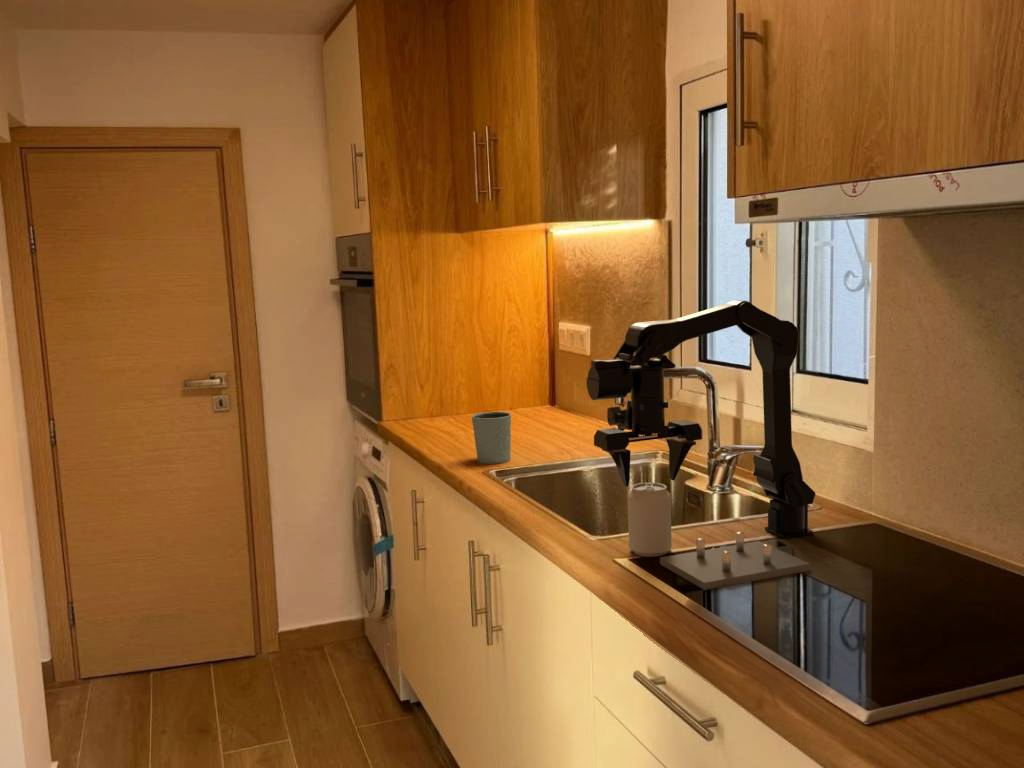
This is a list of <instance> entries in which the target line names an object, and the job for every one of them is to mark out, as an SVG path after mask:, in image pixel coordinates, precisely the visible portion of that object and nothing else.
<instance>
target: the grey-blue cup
mask: <svg viewBox="0 0 1024 768" xmlns="http://www.w3.org/2000/svg"><path fill="white" fill-rule="evenodd" d="M471 423H472V427H473V429H472V430H473V435H474V436H473V437H474V443H475V444H474V445H475V450H476V457H477V458H476V459H477V462H478V463H480V464H485V465H496V464H498V463H499V464H504V462H505V463H508V462H509V461H511V459H512V458H511V455H512V454H511V453H512V451H511V449H512V447H511V443H512V442H511V441H512V438H511V437H512V434H511V433H512V431H511V425H512V413H511V412H508V411H507V412H506V411H487V412H486V411H485V412H479V413H476V414H472V415H471Z"/></svg>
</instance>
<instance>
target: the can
mask: <svg viewBox="0 0 1024 768" xmlns="http://www.w3.org/2000/svg"><path fill="white" fill-rule="evenodd" d="M630 487H631V491H630V492H629V493H628V494H627V513H628V514H627V517H628V522H627V525H628V547H629V549H630V550H631V551H632V552H633V553H634V555H638V556H641V557H648V558H650V557H654V558H655V557H659V556H664V555H666V554H667V553H668V552H669V551H670V550H671V549H672V546H673V544H672V543H673V542H672V501H671V500H672V498H671V497H672V495H671V493H670V492H669V491H668V490H667V488H668V486H667V485H665V484H664V483H660V482H659V483H658V482H640V483H639V482H638V483H634V484H633V485H631V486H630Z"/></svg>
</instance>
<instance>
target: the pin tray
mask: <svg viewBox="0 0 1024 768" xmlns="http://www.w3.org/2000/svg"><path fill="white" fill-rule="evenodd" d="M695 542H696V543H695V544H696V545H695V547H696V549H695V551H690V552H685V553H679V554H674V555H672V554H671V555H668V556H662V557H659V565H660V566H662V567H664V568H666V569H667V570H669V571H671V572H672V573H674V574H675V575H677V576H680V577H681V578H683V579H684V580H686V581H688V582H690V583H691V584H693V585H695V586H696V587H699V588H700V589H702V590H704V591H706V590H713V589H718V588H722V587H723V588H724V587H729V586H733V585H734V586H735V585H739V584H744V583H750V582H754V581H761V580H766V579H773V578H776V577H783V576H788V575H794V574H798V573H799V574H800V573H804V572H810V568H811V567H810V566H811V565H810V563H809V562H807V561H805V560H802V559H800V558H799V557H795V556H794V555H791V554H790V553H787V552H786V551H784V550H783V551H782V550H780V549H779V548H776V547H774V546H772V544H771V543H765V542H762V541H760V540H758V541H757V540H756V541H752V542H745V532H744V531H735V544H732V545H725V546H722V547H721V546H720V547H715V548H709V549H706V548H705V547H706V546H705V545H706V539H705V538H703V537H697V538H696V541H695Z"/></svg>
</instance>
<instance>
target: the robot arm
mask: <svg viewBox="0 0 1024 768" xmlns="http://www.w3.org/2000/svg"><path fill="white" fill-rule="evenodd" d="M735 326H737V328H738V329H739V330H740V331H741V332H742V333H743V334H745V335H747V336H748V337H750V338H751V341H752V346H753V351H754V354H755V356H756V359H757V361H758V363H759V365H760V367H761V371H762V372H761V373H762V396H763V397H762V400H763V401H762V402H763V428H764V430H763V431H764V446H763V449H762V450H761V452H760V454H754V455H753V458H752V460H753V464H754V470H753V473H752V476H754V477H755V478H756V482H757V484H758V485H759V486H760V487H761V488H762V490H763V492H764V494H765V496H766V497H769V498H771V499H769V508H768V509H767V526H764V531H767V532H768V533H771V534H774V535H776V536H778V537H780V538H783V539H788V538H789V539H791V538H796V537H801V536H808V535H813V534H814V530H812V529H810V528H809V505H812V504H813V503H814V499H815V497H816V492H815V490H813V489H812V487H811V486H810V485H808V484H807V483H806V482H805V481H804V478H803V472H802V468H801V467H802V466H801V462H800V460H799V457H798V455H797V454H796V451H795V450H794V447H793V436H792V435H793V434H792V433H793V432H792V428H793V427H792V398H791V397H792V396H791V395H792V394H791V393H792V392H791V391H792V390H791V367H792V364H793V363H794V362H795V361H794V360H795V359H796V357H797V355H798V351H799V349H798V348H799V343H800V332H799V328H798V327H797V326H796V325H795V324H794V323H793V322H792V321H789V320H785V319H784V320H783V319H780V318H778V317H776V316H774V315H772V314H771V313H768V312H766V311H764V310H762V309H761V308H758V307H757V306H756V305H754V304H753V303H752V302H750V301H748V300H739V299H738V300H737V299H734V300H731V301H729V302H727V303H725V304H720V305H718V306H714V307H712V308H707V309H705V310H701V311H698V312H697V311H696V312H695V313H691V314H687V315H685V316H682V317H677V318H674V319H665V320H650V321H641V322H635V323H633V324H631V325H630V326H629V327H628V329H627V331H626V333H625V337H624V341H623V342H622V344H621V346H620V347H619V349H618V351H617V352H616V353H615V356H614V357H613V358H612V359H607V360H606V359H605V360H604V359H603V360H601V359H592V360H591V361H590V366H591V367H590V368H589V370H588V372H587V373H588V374H587V377H586V388H587V389H586V390H587V392H588V396H589V398H590V399H591V400H592V401H601V400H602V401H603V400H611V399H612V400H613V399H622V398H623V399H624V398H626V397H627V396H628V394H630V399H628V400H627V403H626V408H625V409H621V407H620V406H619V405H618V406H617V405H616V406H611V407H610V406H609V407H608V408H607V411H606V412H607V414H606V418H607V423H608V424H607V425H608V426H610V428H603V429H597V430H596V432H595V433H594V435H593V445H594V446H595V447H596V448H599V449H601V450H602V451H603V452H606V453H608V454H609V455H610V457H611V459H612V460H613V462H614V464H615V465H616V468H617V471H618V475H619V477H620V480H621V482H622V485H623V486H624V487H625V488H628V487H629V485H630V478H631V477H630V476H631V475H630V474H631V450H629V449H627V448H628V446H629V445H630V443H635V442H636V443H637V442H644V441H651V440H652V441H653V440H660V439H665V441H666V444H667V446H668V473H669V480H671V481H675V480H676V478H677V475H678V474H679V472H680V468H681V467H682V465H683V462H684V461H685V458H686V457H687V455H688V454H689V452H690V450H691V449H692V447H693V446H696V445H697V442H696V441H701V440H703V428H702V426H701V425H700V423H698V422H694V421H690V420H687V419H681V420H671V421H668V422H667V424H666V423H665V417H666V416H665V409H668V408H669V401H665V373H664V370H667V369H675V368H676V364H675V363H674V362H673V361H671V360H670V359H669V358H668V356H667V355H666V354H667V353H668V352H671V351H673V350H674V349H676V348H677V347H678V346H679V345H681V344H683V343H684V342H686V341H688V340H693V339H695V338H698V337H701V336H702V337H703V336H705V335H709V334H713V333H715V332H718V331H722V330H725V329H728V328H731V327H735ZM612 426H617V428H616V427H612ZM611 427H612V428H611ZM625 430H629V431H625Z"/></svg>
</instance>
